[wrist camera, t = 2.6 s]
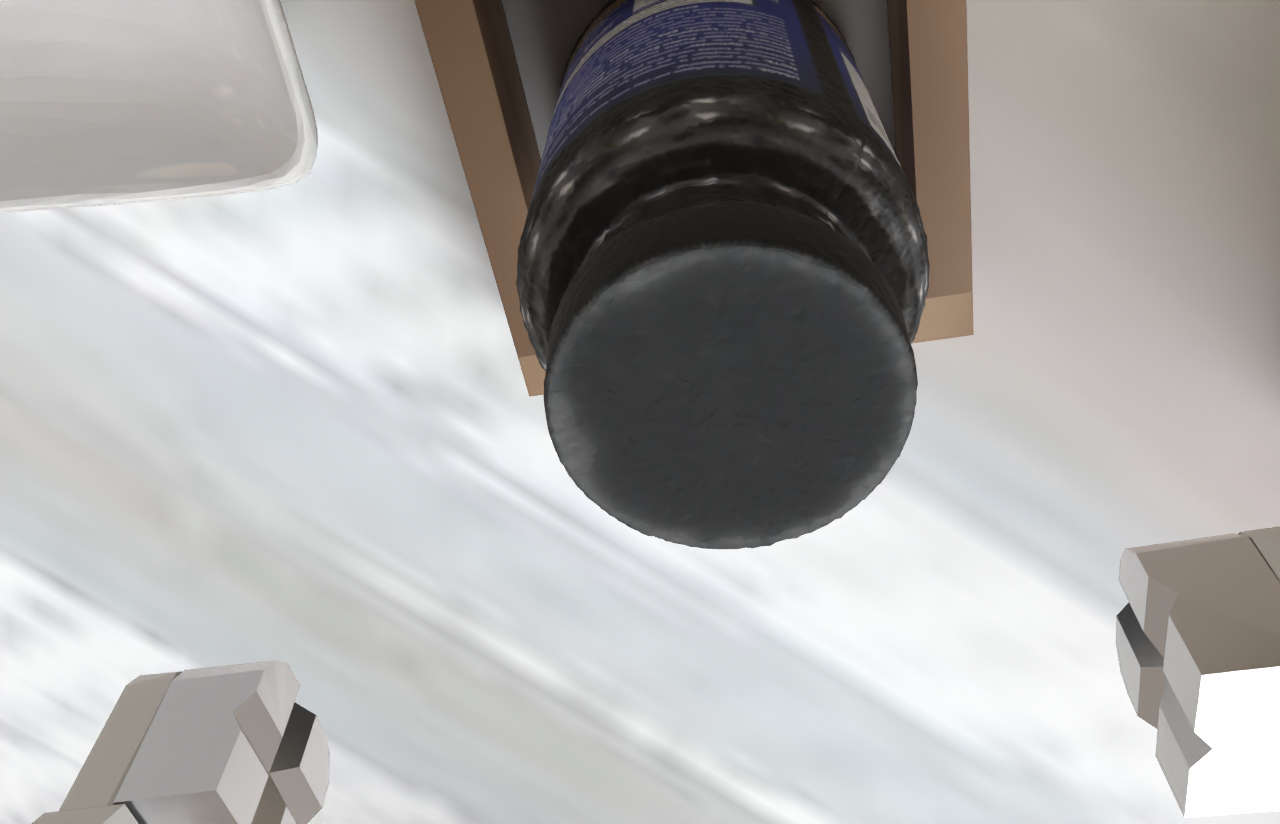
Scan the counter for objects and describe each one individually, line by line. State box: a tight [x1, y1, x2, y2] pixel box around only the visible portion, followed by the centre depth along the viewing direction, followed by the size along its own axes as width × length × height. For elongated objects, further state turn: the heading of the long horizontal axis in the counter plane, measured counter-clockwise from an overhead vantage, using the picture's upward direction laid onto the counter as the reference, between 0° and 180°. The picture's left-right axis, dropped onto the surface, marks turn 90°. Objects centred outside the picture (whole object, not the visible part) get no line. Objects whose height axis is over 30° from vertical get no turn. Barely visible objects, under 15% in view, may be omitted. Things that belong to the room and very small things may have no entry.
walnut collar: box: [415, 0, 973, 396], centre depth 22 cm, size 9×9×2 cm
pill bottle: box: [516, 0, 930, 549], centre depth 18 cm, size 6×6×11 cm
